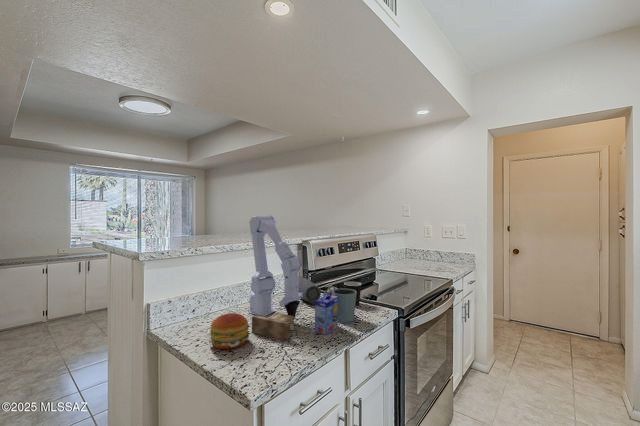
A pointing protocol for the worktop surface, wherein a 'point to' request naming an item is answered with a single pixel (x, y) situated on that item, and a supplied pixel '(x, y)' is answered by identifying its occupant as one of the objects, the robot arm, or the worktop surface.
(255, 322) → the wall
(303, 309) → the worktop surface
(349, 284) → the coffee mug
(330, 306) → the ink cartridge box
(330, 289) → the food container
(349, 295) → the grey green cup
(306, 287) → the bluetooth speaker
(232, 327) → the burger
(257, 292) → the robot arm
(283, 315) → the block
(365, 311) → the worktop surface
